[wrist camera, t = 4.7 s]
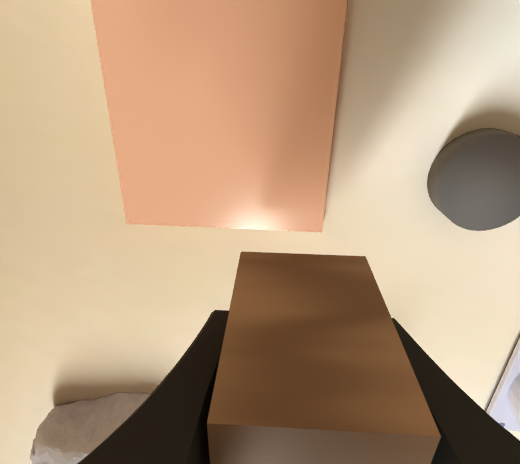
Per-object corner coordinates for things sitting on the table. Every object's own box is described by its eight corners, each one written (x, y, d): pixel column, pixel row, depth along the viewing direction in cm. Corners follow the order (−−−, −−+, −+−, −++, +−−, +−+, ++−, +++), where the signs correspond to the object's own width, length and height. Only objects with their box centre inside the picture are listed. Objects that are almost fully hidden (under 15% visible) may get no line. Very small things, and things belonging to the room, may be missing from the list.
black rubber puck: (526, 116, 16) (550, 122, 14) (520, 205, 18) (542, 218, 16) (424, 142, 16) (438, 150, 15) (429, 226, 18) (442, 239, 17)
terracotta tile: (345, -3, 14) (347, -5, 13) (320, 227, 18) (322, 232, 18) (96, -7, 14) (89, -9, 14) (131, 218, 19) (126, 223, 18)
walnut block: (365, 256, 11) (441, 436, 6) (349, 349, 13) (396, 551, 8) (241, 251, 12) (207, 423, 6) (242, 344, 13) (216, 539, 8)
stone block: (169, 364, 26) (37, 403, 26) (163, 423, 22) (4, 470, 22) (216, 456, 32) (106, 489, 31) (218, 518, 27) (91, 557, 27)
